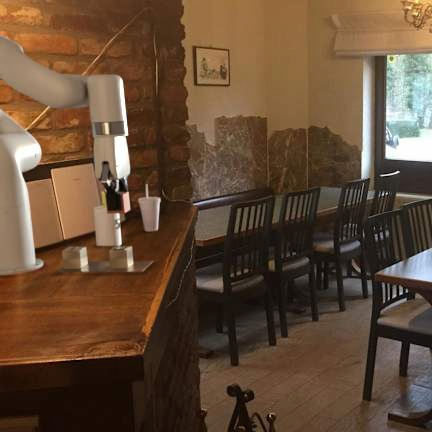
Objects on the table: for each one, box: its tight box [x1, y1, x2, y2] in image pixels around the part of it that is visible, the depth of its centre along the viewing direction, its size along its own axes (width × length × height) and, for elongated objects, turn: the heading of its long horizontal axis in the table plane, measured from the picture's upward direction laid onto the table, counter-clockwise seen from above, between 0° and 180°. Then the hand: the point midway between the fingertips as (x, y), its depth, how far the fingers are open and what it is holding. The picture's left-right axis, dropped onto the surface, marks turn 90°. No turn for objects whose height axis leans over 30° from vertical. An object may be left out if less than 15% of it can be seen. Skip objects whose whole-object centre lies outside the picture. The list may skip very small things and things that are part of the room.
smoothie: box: [137, 183, 162, 232], centre depth 188 cm, size 6×6×14 cm
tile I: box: [61, 246, 89, 269], centre depth 149 cm, size 4×4×4 cm
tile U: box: [108, 245, 134, 269], centre depth 149 cm, size 4×4×4 cm
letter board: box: [56, 260, 154, 273], centre depth 150 cm, size 20×9×1 cm, turn 94°
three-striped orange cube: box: [105, 191, 131, 214], centre depth 147 cm, size 4×4×4 cm
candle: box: [92, 190, 122, 247], centre depth 170 cm, size 6×6×15 cm
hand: (118, 207), depth 147 cm, fingers closed on three-striped orange cube, 4 cm apart
